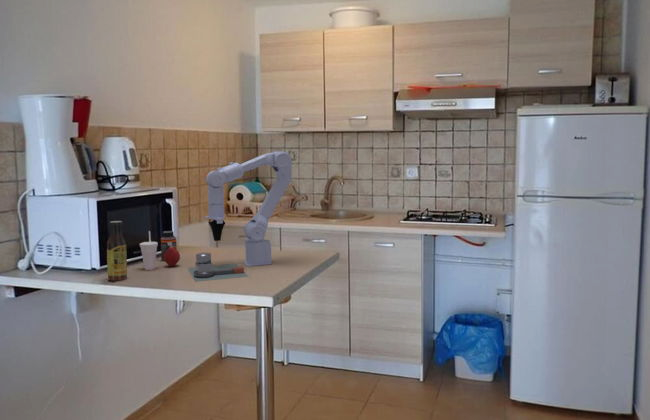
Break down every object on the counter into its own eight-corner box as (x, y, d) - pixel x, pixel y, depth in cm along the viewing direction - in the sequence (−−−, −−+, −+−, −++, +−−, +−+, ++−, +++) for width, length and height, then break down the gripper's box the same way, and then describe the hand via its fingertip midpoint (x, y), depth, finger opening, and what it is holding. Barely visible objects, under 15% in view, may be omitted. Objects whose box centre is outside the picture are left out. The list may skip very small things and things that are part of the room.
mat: (236, 264, 214) (236, 263, 214) (248, 277, 194) (248, 276, 194) (187, 268, 208) (187, 267, 208) (195, 282, 188) (195, 281, 188)
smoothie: (162, 268, 208) (160, 231, 206) (146, 272, 203) (144, 233, 201) (153, 266, 212) (151, 229, 210) (137, 269, 208) (135, 231, 206)
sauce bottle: (116, 282, 188) (112, 223, 186) (103, 280, 192) (100, 222, 189) (132, 278, 194) (128, 220, 191) (120, 276, 197) (116, 219, 195)
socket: (209, 268, 199) (209, 252, 198) (212, 271, 194) (212, 254, 193) (195, 270, 197) (194, 253, 196) (198, 273, 192) (197, 256, 191)
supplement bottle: (174, 261, 220) (173, 232, 219) (159, 261, 221) (158, 232, 219) (178, 258, 226) (177, 230, 225) (164, 258, 226) (162, 230, 225)
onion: (175, 268, 208) (174, 247, 207) (161, 268, 209) (160, 246, 208) (182, 265, 214) (182, 244, 213) (168, 264, 215) (167, 244, 214)
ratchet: (195, 279, 191) (194, 267, 191) (192, 274, 198) (192, 263, 197) (245, 274, 197) (245, 263, 196) (241, 270, 203) (240, 259, 203)
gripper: (202, 202, 213) (203, 238, 214) (208, 206, 199) (209, 244, 201) (221, 201, 215) (222, 236, 217) (228, 205, 201) (229, 243, 203)
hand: (217, 240), depth 209 cm, fingers closed
